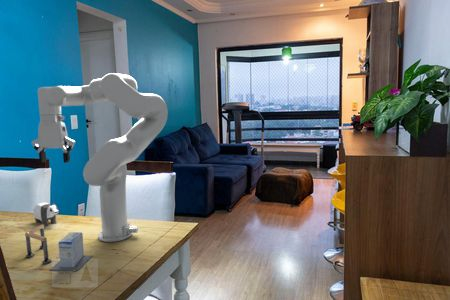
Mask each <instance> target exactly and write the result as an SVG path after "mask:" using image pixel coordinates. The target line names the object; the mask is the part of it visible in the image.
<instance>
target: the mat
mask: <svg viewBox="0 0 450 300" xmlns="http://www.w3.org/2000/svg"><path fill="white" fill-rule="evenodd" d="M92 257H93V255H87V254H86V255H85V254H84V256H83V257H82V258H81V260H80V261H79V262H78V263H77V264H76V266H75V267H73V268H61V267H60V260H59V261H58V262H56V263H55V264H54V265H53V266H52V267H51V268H49V271H51V272H52V271H54V272H55V271H56V272H60V271H61V272H78V271H80V269H82V267H84V265H85V264H86V263H87V262H88V261H89V260H90V259H91V258H92ZM73 270H75V271H73Z"/></svg>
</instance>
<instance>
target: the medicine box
mask: <svg viewBox="0 0 450 300" xmlns="http://www.w3.org/2000/svg"><path fill="white" fill-rule="evenodd" d="M58 253H59V254H58V255H59V261H60V267H61V268H73V267H75V266H76V264H77V263H78V262H79V261H80V260H81V258H82V257H83V256H84V255H85V253H84V237H83V232H78V231H77V232H76V231H75V232H68V233H67V234H66V235H65V236H64V237H63V238H62V239H60V240H59V241H58Z"/></svg>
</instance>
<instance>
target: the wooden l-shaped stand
mask: <svg viewBox="0 0 450 300" xmlns="http://www.w3.org/2000/svg"><path fill="white" fill-rule="evenodd" d="M38 231H39V233H40V235H39V234H35V233H36V232H38ZM24 233H25V234H24V235H25V242H26V243H25V244H26V252H27V254H25V259H31V258H33V257H35V256H34V255H35V254H34V253H33V252H32V244H31V243H32V242H31V239H35V240H37V241H40V243H41V245H40V246H39V249H40V250H43V259H44V260H42V265H49V264H50V263H52V260H51V259H50V258H49V250H48V239H47V237H46V236H45V226H44V225H43V224H40V225H39V224H38V226H36V227H33V228H32V229H29V230H28V231H26V232H24Z"/></svg>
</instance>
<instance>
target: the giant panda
mask: <svg viewBox="0 0 450 300" xmlns="http://www.w3.org/2000/svg"><path fill="white" fill-rule="evenodd" d="M32 213H33V214H32V215H33V217H34V220H35V223H36V224H38V225H39V224H40V225H41V224H42V225H44V227H49V223H48V222H49V220H50V224H53V225H54V224H57V220H56V216H57V214H59V208H58V206H57V205H56V204H55V203H54V202H53V203H51V204H50V203H48V202H40V203H38V204H36V205H35V206H34V207H33V212H32Z"/></svg>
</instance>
